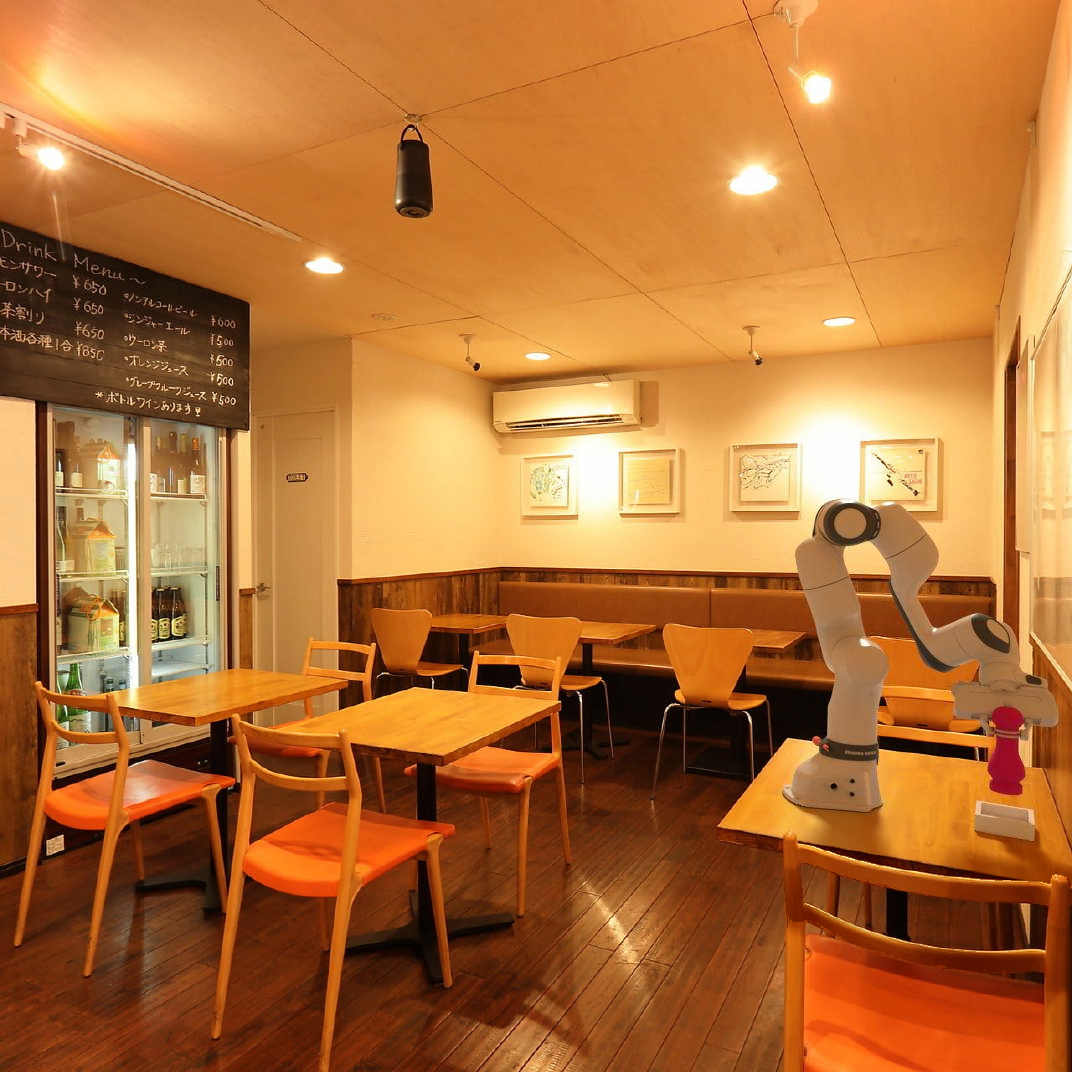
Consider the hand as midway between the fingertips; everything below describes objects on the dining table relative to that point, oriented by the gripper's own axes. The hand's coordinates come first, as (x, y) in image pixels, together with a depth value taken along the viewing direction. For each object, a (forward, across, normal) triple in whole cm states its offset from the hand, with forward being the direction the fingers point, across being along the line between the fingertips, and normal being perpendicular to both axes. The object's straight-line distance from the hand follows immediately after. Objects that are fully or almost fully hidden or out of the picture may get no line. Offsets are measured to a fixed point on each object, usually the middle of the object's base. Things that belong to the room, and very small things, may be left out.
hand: (1007, 737), depth 177 cm
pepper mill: (+8, 0, +9) cm, 12 cm away
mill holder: (+14, 0, +14) cm, 20 cm away
